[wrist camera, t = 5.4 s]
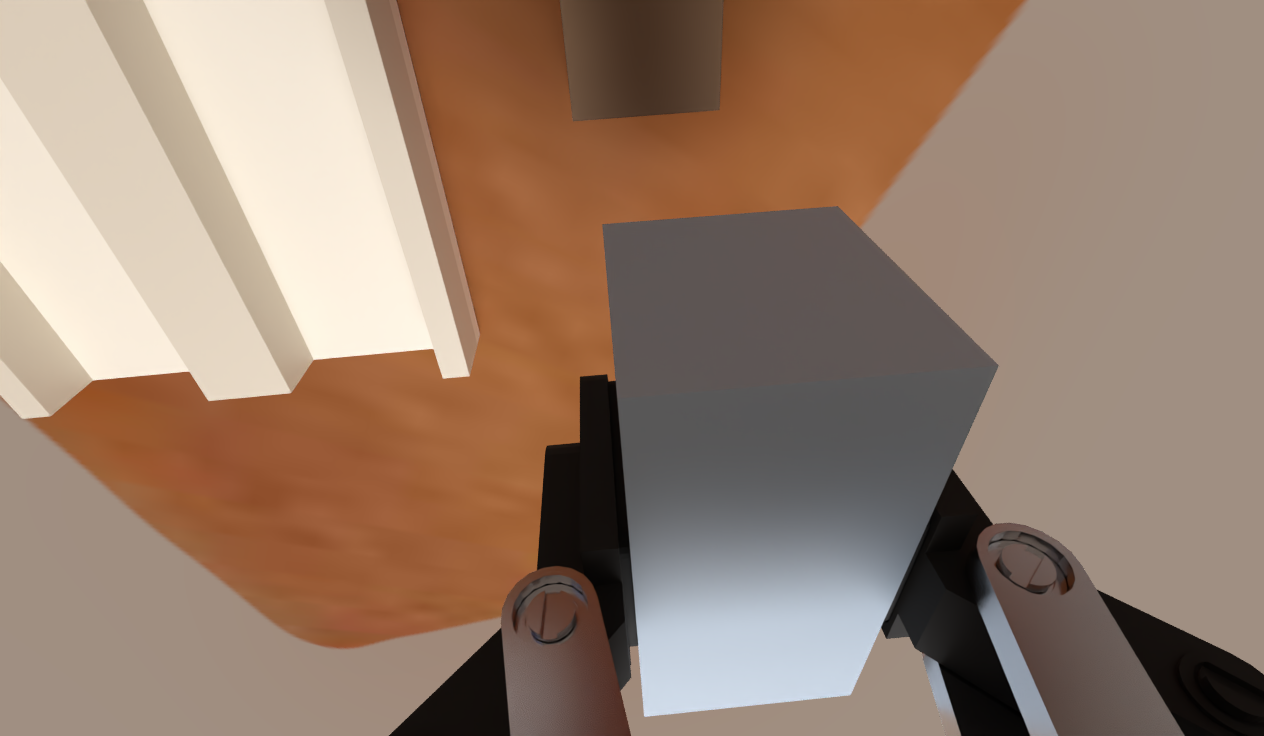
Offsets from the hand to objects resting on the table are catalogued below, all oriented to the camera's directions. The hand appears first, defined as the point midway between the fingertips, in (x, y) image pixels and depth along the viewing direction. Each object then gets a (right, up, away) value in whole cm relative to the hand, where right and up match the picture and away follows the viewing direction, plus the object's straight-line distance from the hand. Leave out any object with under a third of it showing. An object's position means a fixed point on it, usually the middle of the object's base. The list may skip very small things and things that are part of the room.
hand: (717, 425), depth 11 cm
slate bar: (0, +1, 0) cm, 1 cm away
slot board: (-17, +7, +8) cm, 20 cm away
